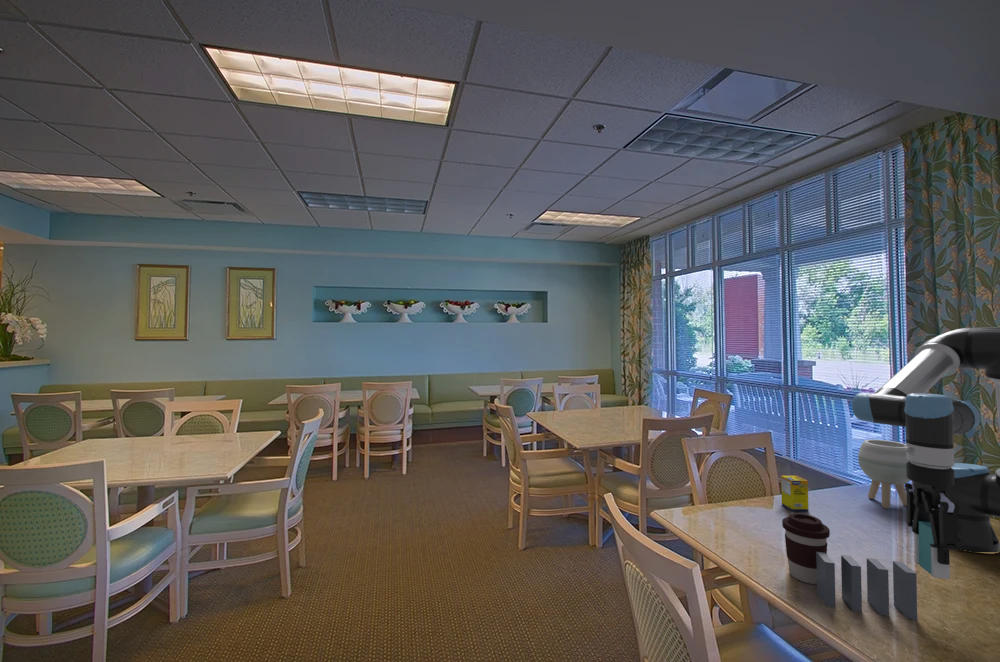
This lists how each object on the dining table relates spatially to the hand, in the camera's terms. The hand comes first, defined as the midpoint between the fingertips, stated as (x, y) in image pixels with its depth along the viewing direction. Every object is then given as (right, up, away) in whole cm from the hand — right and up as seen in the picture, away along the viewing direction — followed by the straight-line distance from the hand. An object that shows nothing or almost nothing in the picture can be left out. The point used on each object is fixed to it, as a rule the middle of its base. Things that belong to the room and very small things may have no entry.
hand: (931, 570), depth 94 cm
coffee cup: (-17, -11, +16) cm, 25 cm away
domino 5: (0, 0, 0) cm, 0 cm away
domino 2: (-14, -10, +4) cm, 18 cm away
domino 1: (-19, -10, +6) cm, 22 cm away
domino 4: (-5, -10, +1) cm, 11 cm away
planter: (+48, -11, +64) cm, 80 cm away
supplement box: (+11, -11, +60) cm, 62 cm away
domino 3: (-9, -10, +3) cm, 14 cm away
